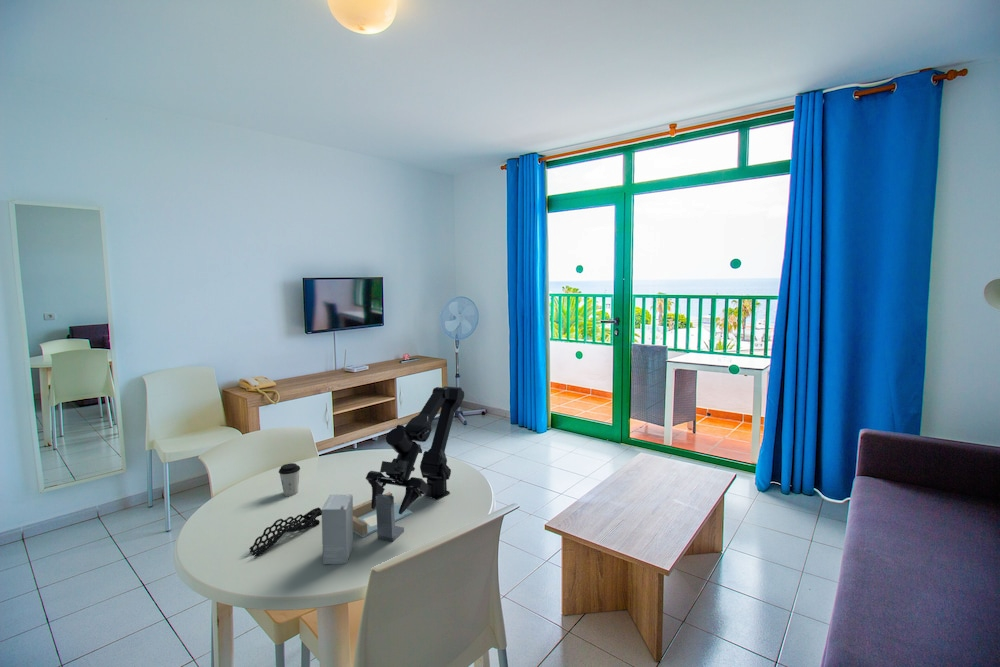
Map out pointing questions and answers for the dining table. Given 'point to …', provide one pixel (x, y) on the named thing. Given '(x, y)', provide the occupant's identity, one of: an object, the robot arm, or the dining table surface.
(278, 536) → the decorative element
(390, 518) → the grey tall post
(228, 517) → the dining table surface
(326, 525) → the skincare box
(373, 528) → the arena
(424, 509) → the dining table surface
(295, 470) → the coffee cup
